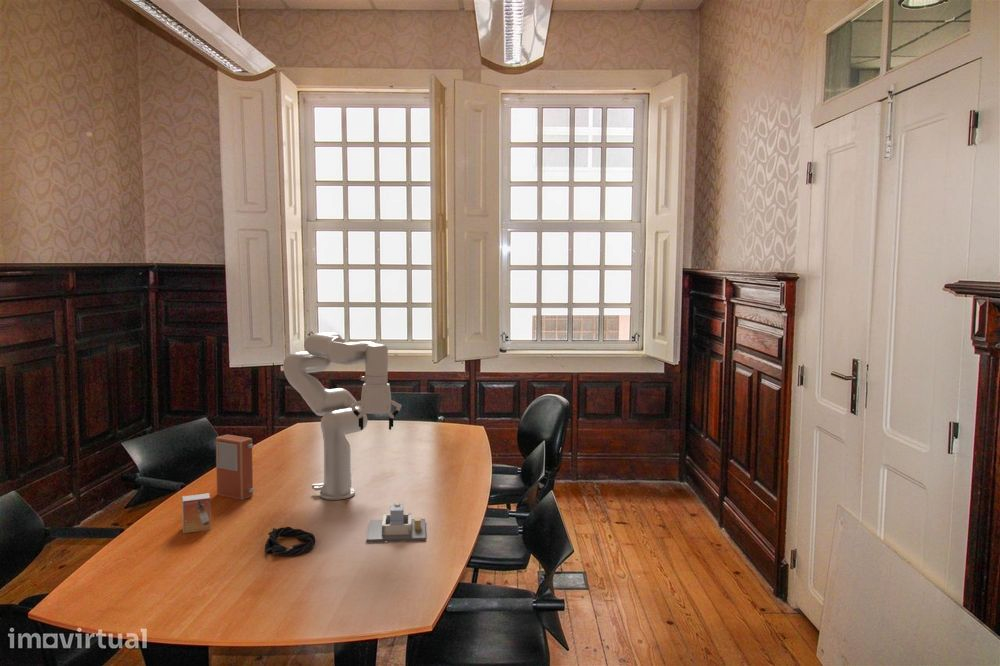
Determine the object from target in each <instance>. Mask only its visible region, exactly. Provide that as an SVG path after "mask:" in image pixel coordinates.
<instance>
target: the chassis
mask: <svg viewBox="0 0 1000 666" xmlns="http://www.w3.org/2000/svg"><path fill="white" fill-rule="evenodd" d="M382 515H383V516H382V519H370V520H369V524H368V529H367V534H366V539H365V543H366V542H372V543H386V542H385V541H388V542H387V543H390V542H389V541H404V542H426V541H427V539H426V538H427V537H426V536H427V534H426V532H427V530H426V518H422V517H421V516H415V517H414V518H412V516H413V515H412V512H411V513H409V512H407V513H404V517H403V525H392V526H390V513H384V514H382Z"/></svg>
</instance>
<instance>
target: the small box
mask: <svg viewBox="0 0 1000 666" xmlns="http://www.w3.org/2000/svg"><path fill="white" fill-rule="evenodd" d="M181 503H182V505H181V508H182V510H181V512H182V513H181V515H182V517H181V518H182V520H181V521H182V533H183V534H189V533H197V532H205V531H206V532H207V531H210V530H211V529H212V525H211V520H212V519H211V516H212V515H211V513H212V512H211V496H210V493H209V492H206V493H201V494H192V495H181Z"/></svg>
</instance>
